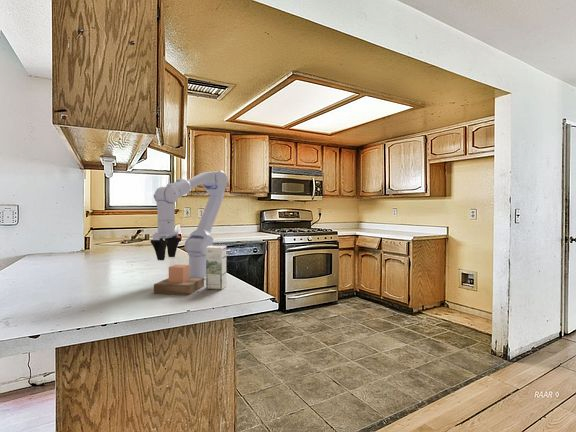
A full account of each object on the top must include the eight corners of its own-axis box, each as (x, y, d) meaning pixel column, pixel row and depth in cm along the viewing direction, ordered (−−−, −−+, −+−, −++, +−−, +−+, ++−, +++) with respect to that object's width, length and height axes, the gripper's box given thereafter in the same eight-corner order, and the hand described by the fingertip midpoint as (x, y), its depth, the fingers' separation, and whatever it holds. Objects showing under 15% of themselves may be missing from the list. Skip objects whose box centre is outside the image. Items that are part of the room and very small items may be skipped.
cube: (175, 279, 115) (175, 264, 115) (189, 279, 114) (189, 264, 114) (168, 282, 110) (168, 267, 110) (183, 282, 109) (183, 267, 109)
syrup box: (227, 286, 117) (226, 244, 117) (222, 290, 112) (221, 246, 111) (211, 285, 118) (211, 244, 118) (205, 289, 112) (205, 246, 112)
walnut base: (171, 285, 119) (171, 276, 119) (204, 286, 117) (204, 277, 117) (153, 293, 107) (153, 284, 107) (189, 294, 105) (189, 285, 105)
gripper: (165, 219, 126) (166, 255, 126) (144, 221, 112) (144, 261, 112) (183, 219, 125) (183, 255, 125) (163, 221, 111) (164, 262, 111)
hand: (166, 258), depth 119 cm, fingers open, 7 cm apart
